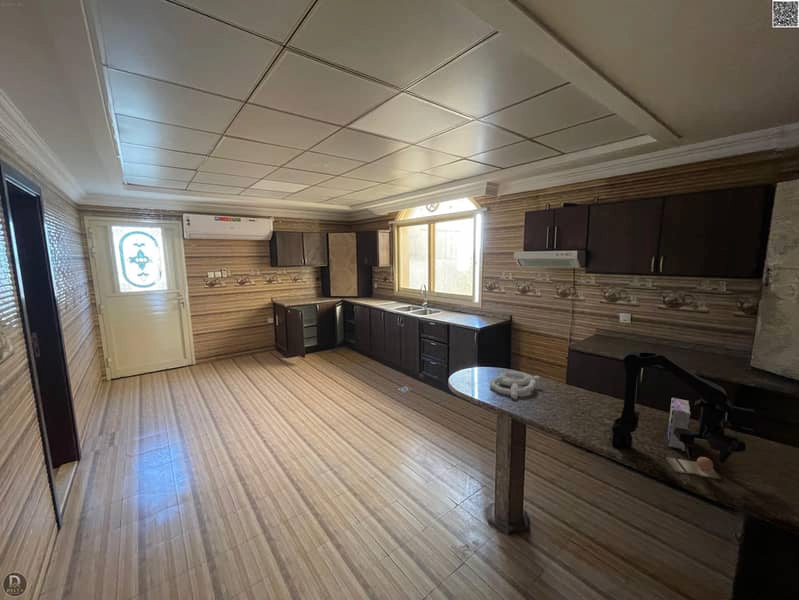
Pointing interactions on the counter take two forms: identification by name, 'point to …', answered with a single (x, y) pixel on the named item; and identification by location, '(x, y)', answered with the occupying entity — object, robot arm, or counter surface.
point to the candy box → (678, 421)
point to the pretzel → (514, 383)
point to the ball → (704, 463)
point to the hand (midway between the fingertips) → (705, 460)
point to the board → (691, 468)
